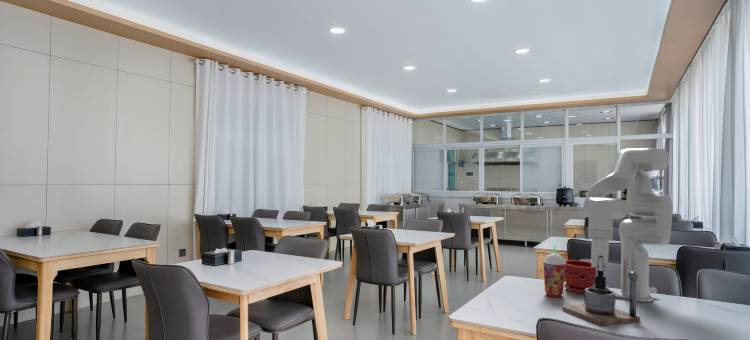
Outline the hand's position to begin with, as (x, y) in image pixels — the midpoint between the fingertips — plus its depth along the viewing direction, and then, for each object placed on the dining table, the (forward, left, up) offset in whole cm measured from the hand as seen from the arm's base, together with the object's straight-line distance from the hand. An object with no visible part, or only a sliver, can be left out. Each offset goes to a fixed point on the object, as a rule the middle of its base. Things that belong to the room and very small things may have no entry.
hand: (600, 286), depth 151 cm
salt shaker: (0, 0, -4) cm, 4 cm away
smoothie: (-2, -25, -10) cm, 27 cm away
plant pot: (-18, -28, -10) cm, 35 cm away
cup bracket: (0, 0, -10) cm, 10 cm away
